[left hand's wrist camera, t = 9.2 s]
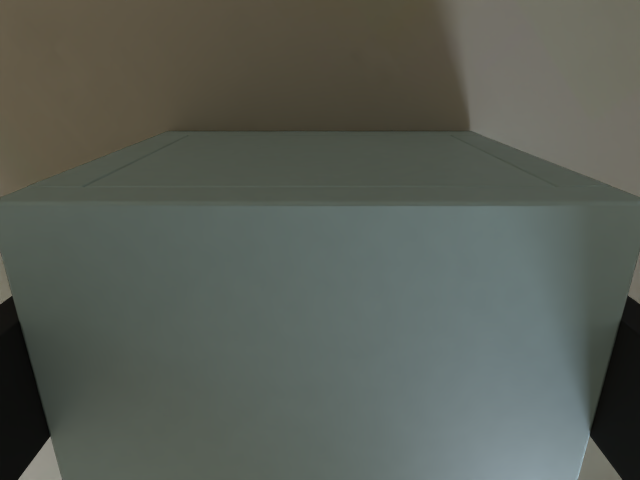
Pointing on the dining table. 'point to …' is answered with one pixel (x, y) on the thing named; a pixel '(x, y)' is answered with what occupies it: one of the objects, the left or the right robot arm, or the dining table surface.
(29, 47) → the dining table surface
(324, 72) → the dining table surface
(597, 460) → the dining table surface
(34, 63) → the dining table surface
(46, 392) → the cabinet
